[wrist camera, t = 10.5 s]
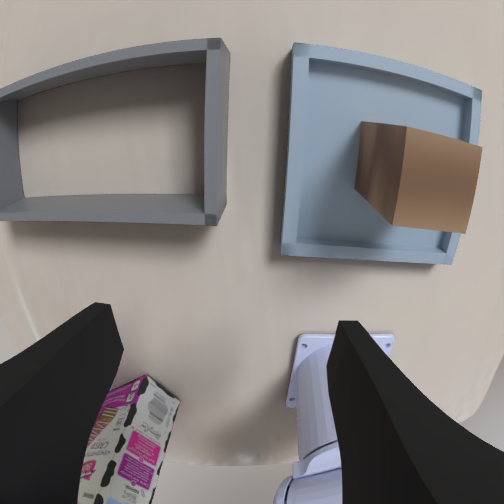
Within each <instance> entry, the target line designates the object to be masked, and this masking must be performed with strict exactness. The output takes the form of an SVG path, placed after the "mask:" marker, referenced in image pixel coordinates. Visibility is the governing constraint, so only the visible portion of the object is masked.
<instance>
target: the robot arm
mask: <svg viewBox="0 0 504 504" xmlns="http://www.w3.org/2000/svg"><path fill="white" fill-rule="evenodd" d="M394 341H395V337H394V335H393V334H369V333H368V332H367V331H366V330H365V328H364V327H363V326H362V325H361V324H360V323H359V322H358V321H339V323H338V326H337V330H336V334H302V335H300V336H299V337H298V342H297V347H296V353H295V358H294V363H293V368H292V373H291V378H290V383H289V388H288V393H287V398H286V407H288V408H296V413H297V434H298V455H299V460H300V461H298V462H294V463H293V476H289V477H287V478H286V479H284V480H283V481H282V483H281V484H280V486H279V488H278V490H277V492H276V494H275V497H274V500H273V504H504V452H502V451H501V450H499V449H497V448H495V447H493V446H492V445H490V444H488V443H486V442H485V441H483V440H481V439H479V438H478V437H477V436H475V435H474V434H472V433H471V432H469V431H468V430H466V429H465V428H464V427H462V426H461V425H459V424H458V423H457V422H455V421H454V420H453V419H451V418H450V417H449V416H448V415H446V414H445V413H444V412H443V411H442V410H441V409H439V408H438V407H437V406H436V405H435V404H434V403H433V402H431V401H430V400H429V399H428V398H427V397H426V396H425V395H424V394H423V393H422V392H421V391H420V390H419V389H418V388H417V387H416V386H415V385H414V384H413V383H412V382H411V381H410V380H409V379H408V378H407V377H406V376H405V375H404V374H403V373H402V372H401V371H400V369H399V368H398V367H397V366H396V365H395V364H394V363H393V362H392V360H391V359H390V358H389V357H388V355H389V353H390V350H391V348H392V346H393V343H394ZM387 343H388V344H387ZM302 344H306V345H302ZM123 350H124V348H123V345H122V342H121V339H120V336H119V333H118V329H117V326H116V323H115V319H114V316H113V312H112V309H111V305H110V304H104V303H97V302H95V303H93V304H91V305H90V306H88V307H87V308H85V309H84V310H82V311H81V312H79V313H78V314H76V315H75V316H73V317H72V318H70V319H69V320H68V321H66V322H65V323H63V324H62V325H60V326H59V327H58V328H56V329H55V330H53V331H52V332H51V333H49V334H48V335H46V336H45V337H43V338H42V339H40V340H39V341H37V342H36V343H34V344H33V345H31V346H30V347H28V348H27V349H25V350H24V351H22V352H21V353H19V354H17V355H16V356H14V357H12V358H11V359H9V360H7V361H5V362H3V363H2V364H0V504H77V503H78V492H79V484H80V477H81V471H82V466H83V461H84V457H85V453H86V449H87V445H88V441H89V437H90V434H91V431H92V429H93V426H94V423H95V421H96V419H97V416H98V414H99V412H100V410H101V407H102V405H103V403H104V401H105V398H106V396H107V394H108V392H109V389H110V387H111V385H112V383H113V381H114V378H115V376H116V373H117V370H118V367H119V364H120V361H121V357H122V354H123Z"/></svg>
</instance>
